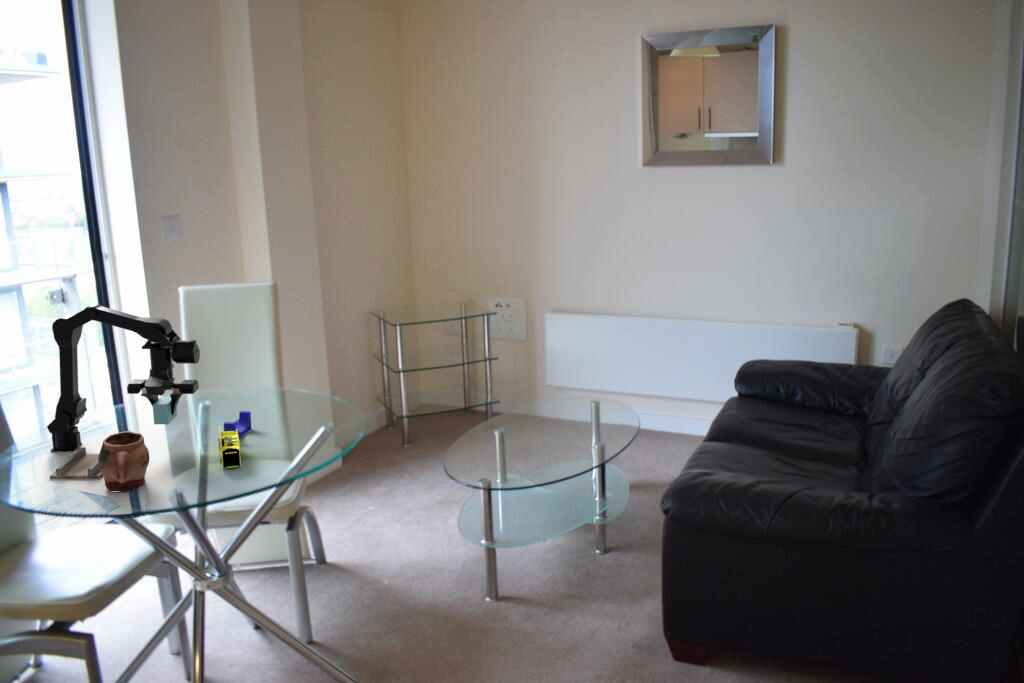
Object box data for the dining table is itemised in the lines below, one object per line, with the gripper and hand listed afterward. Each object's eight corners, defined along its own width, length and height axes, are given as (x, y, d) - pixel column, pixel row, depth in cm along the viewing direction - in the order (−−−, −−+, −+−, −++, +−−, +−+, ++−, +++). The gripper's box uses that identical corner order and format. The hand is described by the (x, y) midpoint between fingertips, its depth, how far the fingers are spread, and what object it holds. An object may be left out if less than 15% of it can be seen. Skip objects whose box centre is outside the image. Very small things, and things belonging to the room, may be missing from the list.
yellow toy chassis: (218, 451, 255) (216, 424, 253) (238, 449, 257) (237, 422, 255) (220, 471, 241) (219, 443, 239) (242, 469, 243) (240, 441, 241)
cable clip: (238, 428, 275) (237, 410, 273) (251, 429, 274) (250, 411, 273) (220, 441, 263) (218, 422, 262) (234, 442, 263) (233, 424, 261)
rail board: (49, 479, 232) (48, 468, 232) (75, 457, 248) (74, 447, 247) (99, 479, 233) (98, 468, 232) (122, 457, 249) (121, 447, 248)
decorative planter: (154, 499, 222) (150, 448, 218) (101, 507, 217) (96, 454, 213) (149, 471, 239) (145, 423, 236) (100, 477, 234) (95, 429, 231)
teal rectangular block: (154, 424, 250) (152, 404, 249) (163, 415, 258) (161, 396, 256) (168, 424, 250) (166, 404, 249) (177, 415, 258) (175, 396, 257)
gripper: (117, 370, 241) (122, 423, 245) (186, 371, 243) (189, 424, 246) (132, 360, 252) (136, 411, 256) (197, 360, 253) (201, 411, 257)
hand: (165, 414), depth 254 cm, fingers closed on teal rectangular block, 4 cm apart
